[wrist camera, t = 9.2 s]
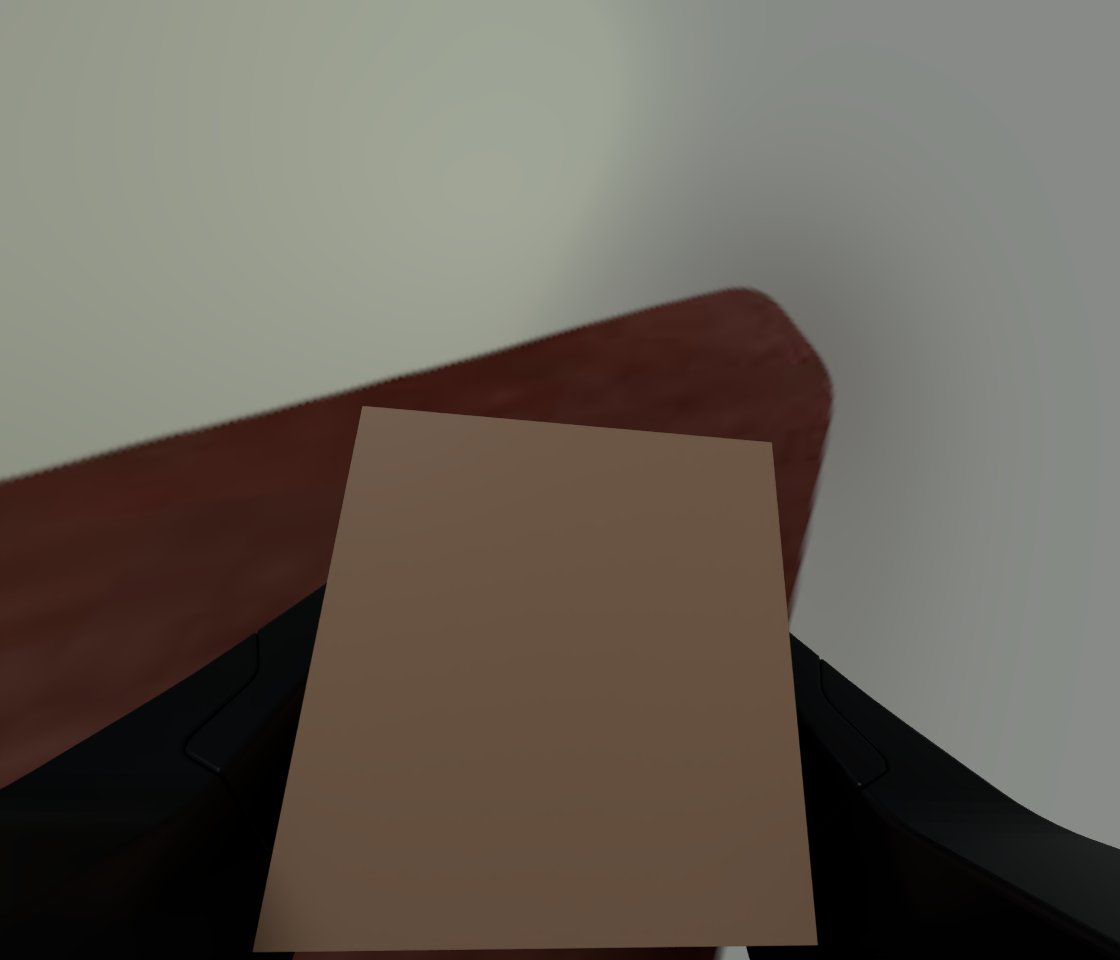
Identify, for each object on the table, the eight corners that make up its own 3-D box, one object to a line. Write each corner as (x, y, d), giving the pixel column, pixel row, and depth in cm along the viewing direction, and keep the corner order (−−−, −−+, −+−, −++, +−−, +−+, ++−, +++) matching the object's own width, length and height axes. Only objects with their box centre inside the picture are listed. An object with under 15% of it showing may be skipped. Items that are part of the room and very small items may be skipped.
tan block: (597, 686, 14) (817, 945, 4) (453, 681, 14) (253, 951, 3) (601, 543, 16) (770, 442, 5) (469, 534, 15) (362, 405, 5)
